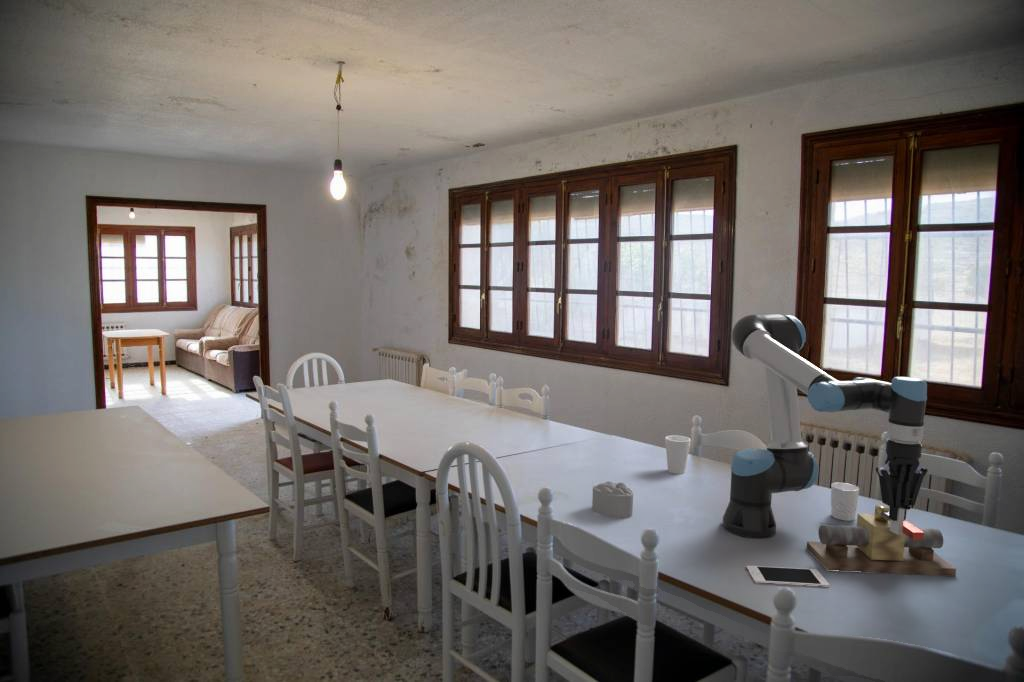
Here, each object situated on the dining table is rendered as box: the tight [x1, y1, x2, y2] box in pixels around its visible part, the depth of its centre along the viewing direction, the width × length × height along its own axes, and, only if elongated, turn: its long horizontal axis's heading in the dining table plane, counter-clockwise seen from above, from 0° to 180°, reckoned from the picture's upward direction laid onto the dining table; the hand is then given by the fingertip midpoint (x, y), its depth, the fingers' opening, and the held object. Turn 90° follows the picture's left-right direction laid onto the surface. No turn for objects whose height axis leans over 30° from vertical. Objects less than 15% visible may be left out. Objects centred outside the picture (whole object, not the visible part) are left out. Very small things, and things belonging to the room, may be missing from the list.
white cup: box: [830, 481, 860, 522], centre depth 206 cm, size 8×8×10 cm
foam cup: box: [664, 434, 692, 475], centre depth 249 cm, size 10×9×13 cm
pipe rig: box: [806, 513, 957, 577], centre depth 174 cm, size 32×14×12 cm, turn 87°
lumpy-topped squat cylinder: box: [591, 481, 634, 519], centre depth 208 cm, size 10×13×9 cm
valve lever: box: [874, 504, 924, 540], centre depth 166 cm, size 3×18×3 cm, turn 179°
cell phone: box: [745, 565, 830, 587], centre depth 165 cm, size 9×18×1 cm, turn 85°
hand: (895, 532), depth 163 cm, fingers closed
